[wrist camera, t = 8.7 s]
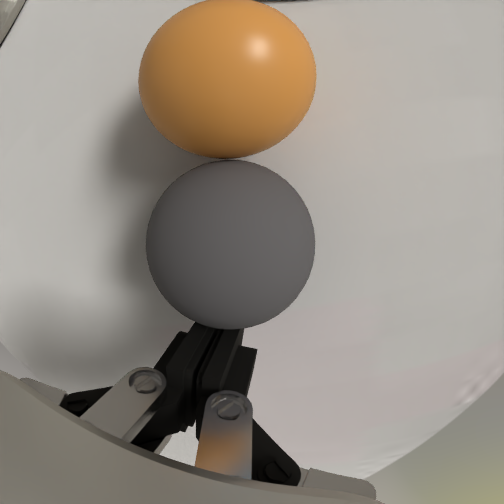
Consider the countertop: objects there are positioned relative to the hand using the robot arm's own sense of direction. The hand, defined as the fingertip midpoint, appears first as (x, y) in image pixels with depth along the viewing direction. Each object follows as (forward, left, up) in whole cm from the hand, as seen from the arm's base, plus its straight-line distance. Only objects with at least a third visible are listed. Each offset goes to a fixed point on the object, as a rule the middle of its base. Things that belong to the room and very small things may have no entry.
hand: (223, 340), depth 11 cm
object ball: (+3, +9, 0) cm, 10 cm away
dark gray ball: (+1, +4, 0) cm, 4 cm away
